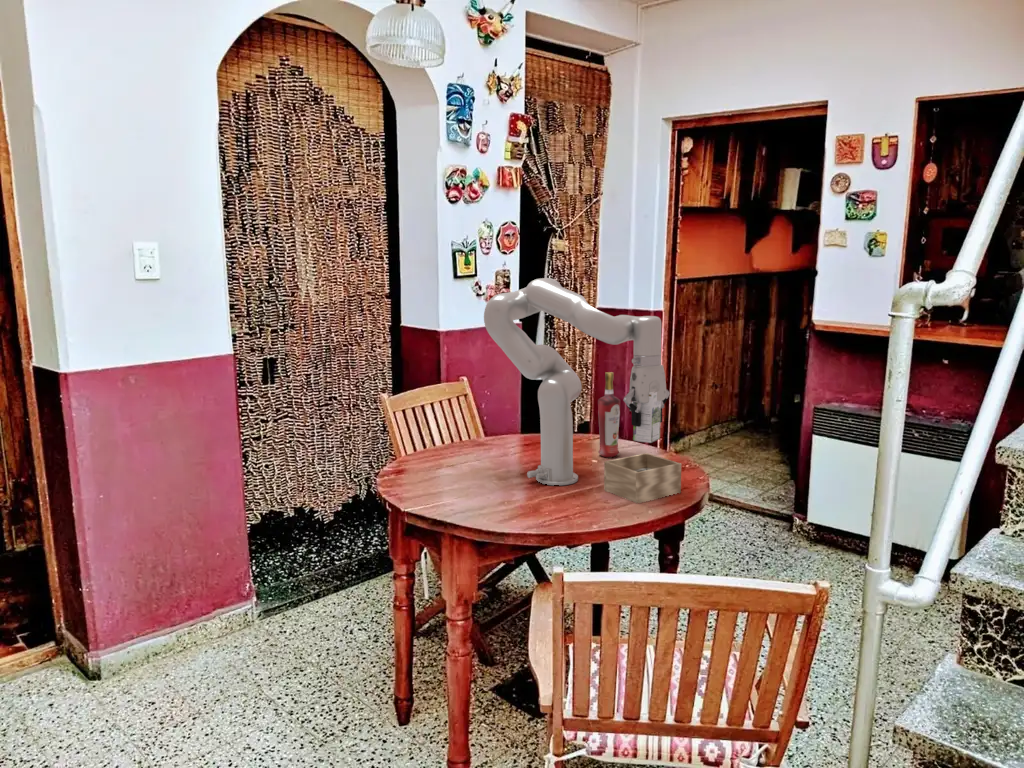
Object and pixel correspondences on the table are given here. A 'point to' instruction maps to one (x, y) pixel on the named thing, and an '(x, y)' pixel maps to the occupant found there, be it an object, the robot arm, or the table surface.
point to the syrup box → (649, 420)
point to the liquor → (608, 419)
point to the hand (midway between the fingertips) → (646, 423)
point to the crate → (642, 477)
